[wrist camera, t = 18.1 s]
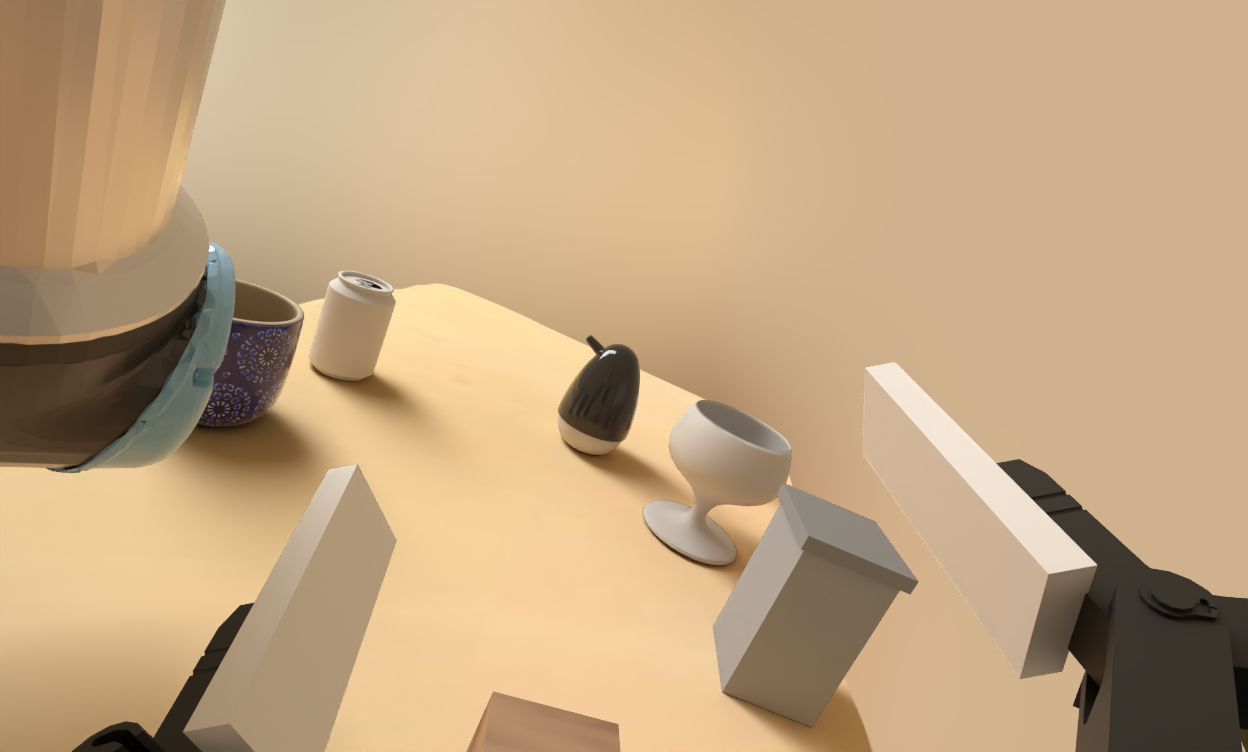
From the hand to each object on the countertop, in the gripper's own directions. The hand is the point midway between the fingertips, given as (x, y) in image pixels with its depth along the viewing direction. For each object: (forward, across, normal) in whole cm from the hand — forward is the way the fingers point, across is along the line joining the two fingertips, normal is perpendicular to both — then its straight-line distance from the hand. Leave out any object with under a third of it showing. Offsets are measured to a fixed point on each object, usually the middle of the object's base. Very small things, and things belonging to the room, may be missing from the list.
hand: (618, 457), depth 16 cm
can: (+54, -35, -21) cm, 67 cm away
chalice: (+39, +4, -43) cm, 58 cm away
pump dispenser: (+55, -8, -39) cm, 68 cm away
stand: (+19, +7, -41) cm, 45 cm away
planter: (+37, -38, -14) cm, 55 cm away
